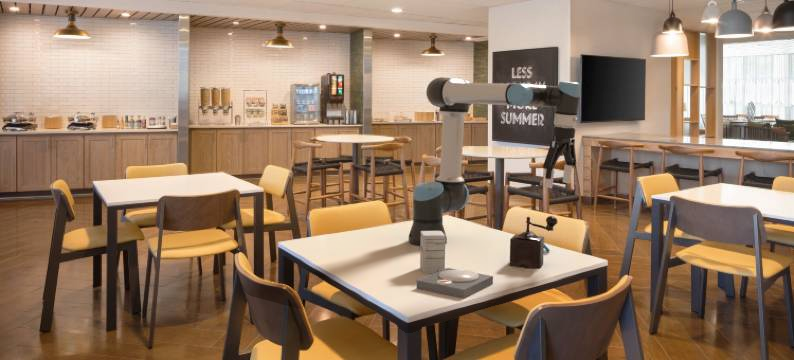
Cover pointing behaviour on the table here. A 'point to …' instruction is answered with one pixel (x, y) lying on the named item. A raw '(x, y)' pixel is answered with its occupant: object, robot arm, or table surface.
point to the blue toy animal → (545, 247)
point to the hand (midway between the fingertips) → (557, 185)
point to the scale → (455, 282)
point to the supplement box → (432, 251)
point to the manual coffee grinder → (529, 246)
